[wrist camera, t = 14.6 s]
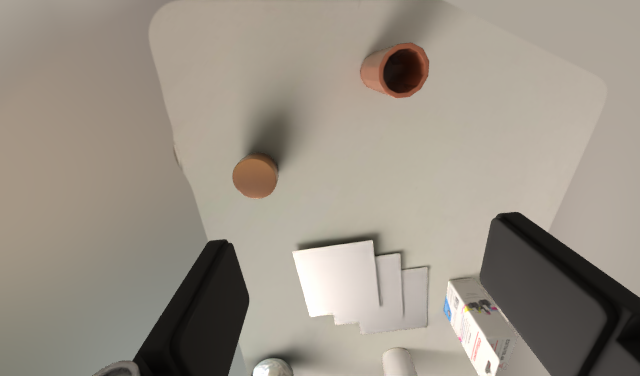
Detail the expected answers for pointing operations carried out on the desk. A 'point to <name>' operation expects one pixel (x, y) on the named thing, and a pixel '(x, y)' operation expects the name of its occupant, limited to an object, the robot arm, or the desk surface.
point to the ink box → (479, 326)
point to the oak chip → (255, 176)
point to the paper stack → (362, 287)
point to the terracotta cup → (396, 70)
